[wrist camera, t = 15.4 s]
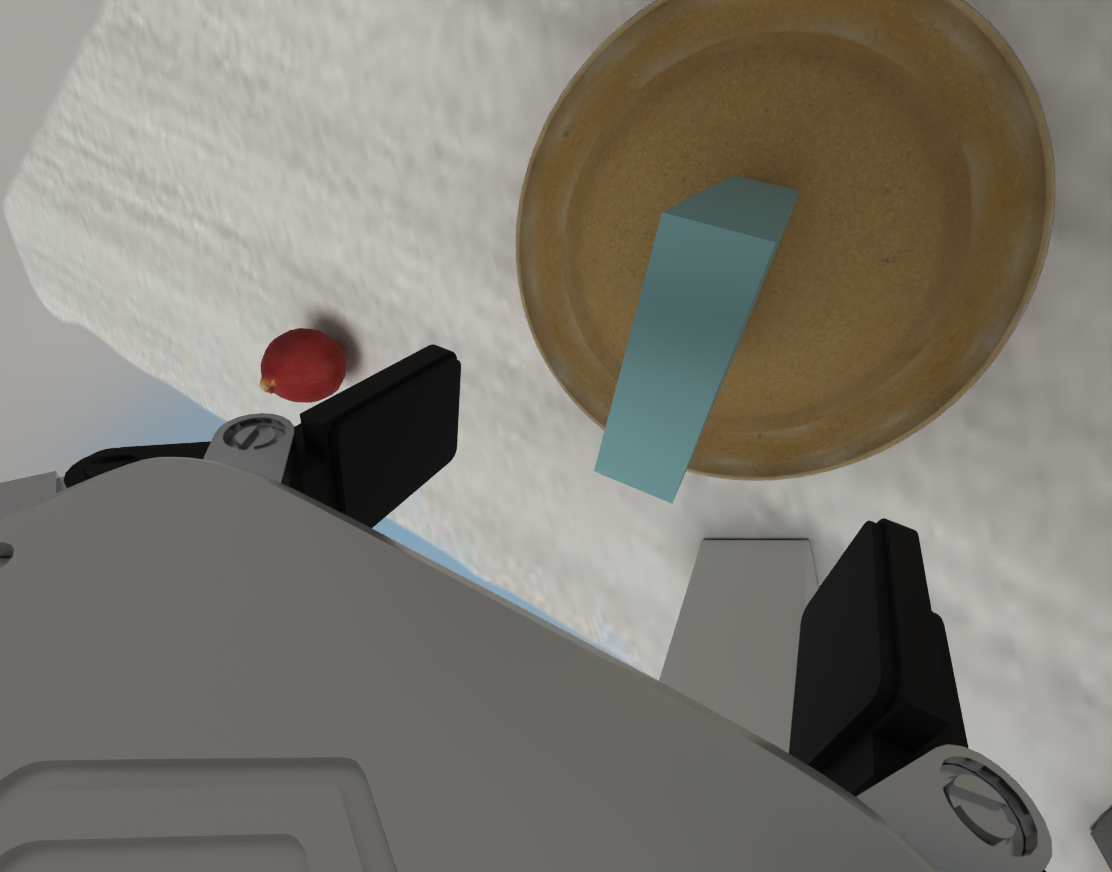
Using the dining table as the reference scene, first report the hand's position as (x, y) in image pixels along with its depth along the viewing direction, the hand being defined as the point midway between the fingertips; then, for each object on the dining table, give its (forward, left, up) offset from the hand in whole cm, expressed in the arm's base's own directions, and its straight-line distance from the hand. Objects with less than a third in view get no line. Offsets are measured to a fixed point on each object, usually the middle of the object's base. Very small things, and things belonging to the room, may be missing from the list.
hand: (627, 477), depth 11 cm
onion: (+29, +15, -21) cm, 39 cm away
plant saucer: (0, 0, -21) cm, 21 cm away
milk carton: (-9, +20, -21) cm, 30 cm away
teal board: (0, 0, -18) cm, 18 cm away
